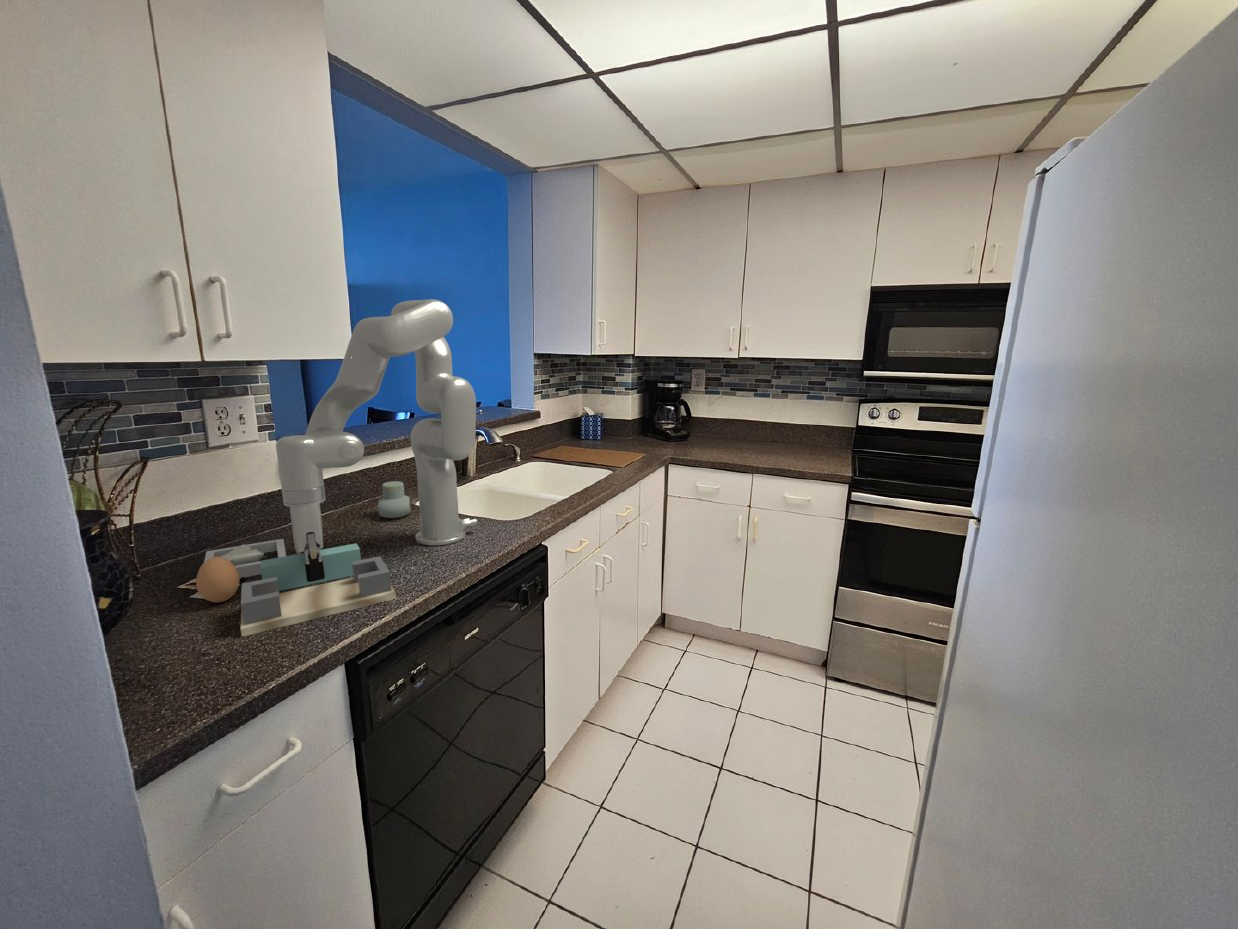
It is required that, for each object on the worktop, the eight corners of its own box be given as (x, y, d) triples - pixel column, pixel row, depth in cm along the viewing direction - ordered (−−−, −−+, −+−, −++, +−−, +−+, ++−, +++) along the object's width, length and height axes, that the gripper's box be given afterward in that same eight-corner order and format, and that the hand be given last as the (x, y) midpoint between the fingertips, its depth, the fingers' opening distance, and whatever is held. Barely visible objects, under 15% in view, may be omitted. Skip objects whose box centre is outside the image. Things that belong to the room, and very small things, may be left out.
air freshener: (381, 511, 157) (378, 480, 155) (410, 509, 160) (408, 478, 158) (378, 522, 147) (375, 489, 145) (409, 520, 150) (407, 486, 148)
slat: (359, 568, 117) (356, 543, 116) (362, 574, 114) (359, 548, 113) (264, 587, 107) (260, 560, 106) (264, 595, 104) (260, 567, 103)
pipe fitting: (267, 561, 122) (237, 559, 121) (266, 545, 121) (236, 543, 120) (245, 575, 114) (213, 573, 113) (244, 559, 113) (212, 556, 113)
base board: (383, 577, 112) (383, 571, 112) (396, 599, 102) (395, 592, 102) (242, 608, 98) (241, 601, 98) (241, 637, 88) (240, 629, 88)
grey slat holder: (381, 573, 110) (380, 556, 110) (391, 590, 103) (389, 571, 102) (244, 603, 97) (241, 583, 96) (244, 625, 89) (240, 604, 88)
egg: (244, 590, 105) (237, 548, 103) (240, 604, 100) (233, 560, 98) (203, 598, 102) (195, 555, 100) (197, 612, 96) (188, 567, 94)
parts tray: (284, 548, 128) (283, 538, 127) (287, 569, 116) (286, 558, 115) (208, 561, 119) (206, 551, 119) (203, 585, 107) (201, 574, 107)
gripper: (280, 488, 111) (291, 562, 115) (284, 508, 97) (296, 591, 101) (320, 483, 116) (329, 555, 119) (329, 502, 102) (338, 582, 105)
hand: (313, 571), depth 110 cm, fingers open, 9 cm apart
